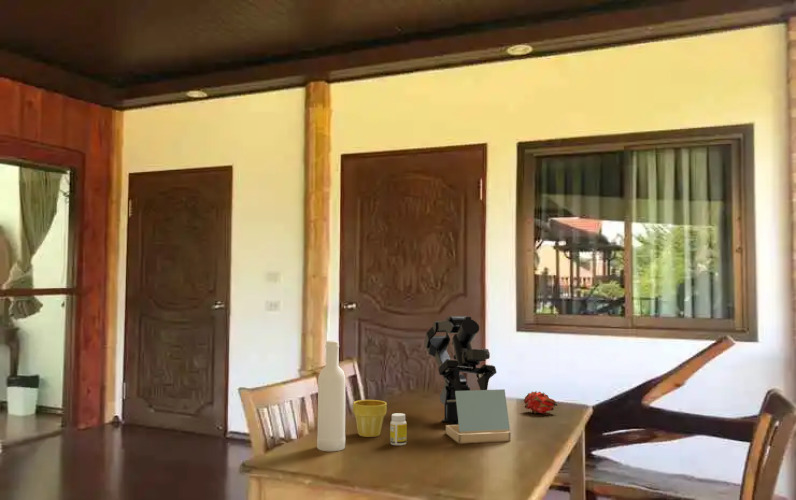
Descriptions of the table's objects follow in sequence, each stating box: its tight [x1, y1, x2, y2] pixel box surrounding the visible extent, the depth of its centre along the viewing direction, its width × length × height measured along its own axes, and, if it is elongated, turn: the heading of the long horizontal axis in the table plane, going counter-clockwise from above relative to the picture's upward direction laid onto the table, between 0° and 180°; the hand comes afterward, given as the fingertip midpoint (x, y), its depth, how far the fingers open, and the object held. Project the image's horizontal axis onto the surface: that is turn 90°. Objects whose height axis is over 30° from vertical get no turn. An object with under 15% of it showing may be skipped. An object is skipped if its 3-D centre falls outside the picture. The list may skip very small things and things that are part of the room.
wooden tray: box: [445, 424, 511, 445], centre depth 199 cm, size 13×16×2 cm
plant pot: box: [352, 399, 388, 438], centre depth 202 cm, size 10×10×10 cm
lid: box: [455, 388, 511, 434], centre depth 195 cm, size 12×16×1 cm
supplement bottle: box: [389, 412, 408, 446], centre depth 190 cm, size 5×5×8 cm
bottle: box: [316, 340, 347, 452], centre depth 185 cm, size 8×8×30 cm
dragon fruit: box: [522, 390, 558, 416], centre depth 236 cm, size 8×8×12 cm
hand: (473, 394), depth 204 cm, fingers open, 9 cm apart
